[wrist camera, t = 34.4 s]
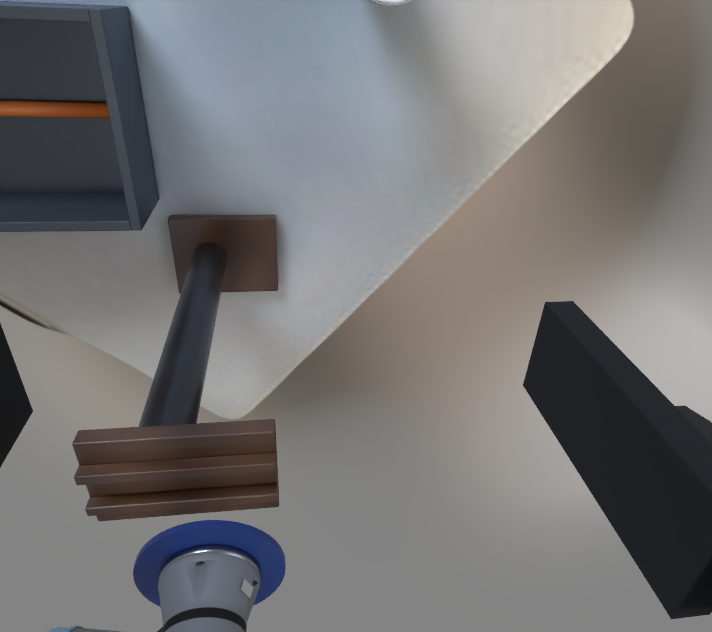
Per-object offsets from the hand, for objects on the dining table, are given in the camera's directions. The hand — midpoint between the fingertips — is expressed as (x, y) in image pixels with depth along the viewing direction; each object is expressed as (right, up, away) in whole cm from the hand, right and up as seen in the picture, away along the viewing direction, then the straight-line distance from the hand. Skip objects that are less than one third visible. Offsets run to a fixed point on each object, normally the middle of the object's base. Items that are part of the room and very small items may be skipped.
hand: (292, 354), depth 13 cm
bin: (-28, +18, +30) cm, 45 cm away
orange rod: (-28, +18, +30) cm, 44 cm away
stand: (-11, +7, +39) cm, 42 cm away
